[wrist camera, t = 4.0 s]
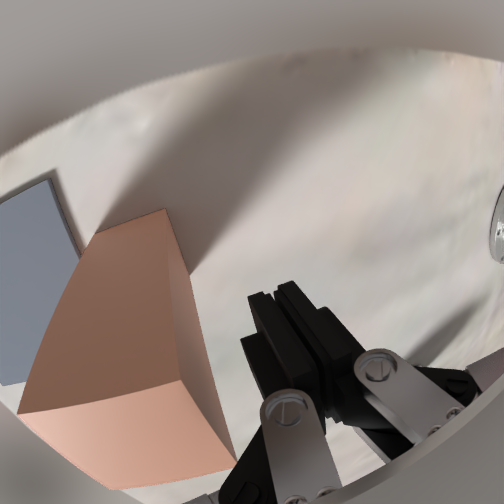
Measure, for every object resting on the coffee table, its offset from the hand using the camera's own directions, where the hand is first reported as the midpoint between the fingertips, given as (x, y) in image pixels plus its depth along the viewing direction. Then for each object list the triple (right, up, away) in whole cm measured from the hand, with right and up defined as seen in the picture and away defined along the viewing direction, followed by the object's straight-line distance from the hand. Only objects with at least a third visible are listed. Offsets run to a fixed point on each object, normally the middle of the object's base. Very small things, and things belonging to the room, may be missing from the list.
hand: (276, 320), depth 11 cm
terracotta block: (-8, +2, +8) cm, 12 cm away
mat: (-19, -1, +6) cm, 20 cm away
